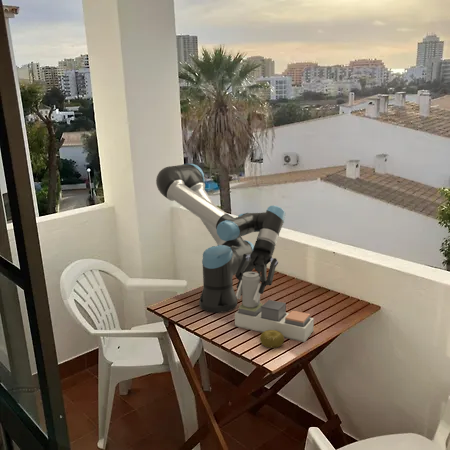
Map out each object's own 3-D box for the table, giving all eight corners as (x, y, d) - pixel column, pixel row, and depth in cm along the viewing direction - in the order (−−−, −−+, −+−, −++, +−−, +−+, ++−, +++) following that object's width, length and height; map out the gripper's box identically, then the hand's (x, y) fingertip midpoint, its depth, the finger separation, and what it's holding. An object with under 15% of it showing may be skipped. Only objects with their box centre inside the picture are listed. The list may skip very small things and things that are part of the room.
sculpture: (271, 341, 149) (254, 332, 155) (271, 352, 150) (254, 343, 156) (289, 333, 154) (272, 325, 160) (289, 344, 155) (271, 336, 161)
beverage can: (262, 303, 170) (262, 272, 167) (256, 309, 164) (255, 277, 161) (246, 300, 173) (245, 270, 170) (239, 307, 167) (239, 275, 164)
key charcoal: (261, 322, 164) (261, 306, 162) (268, 315, 169) (269, 299, 168) (278, 326, 161) (278, 309, 159) (285, 318, 166) (285, 303, 165)
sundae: (262, 282, 210) (262, 250, 207) (249, 280, 214) (249, 248, 210) (269, 278, 216) (269, 247, 212) (256, 275, 219) (256, 245, 215)
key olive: (238, 322, 169) (238, 306, 167) (246, 315, 174) (246, 300, 173) (254, 325, 166) (254, 310, 164) (262, 318, 171) (262, 303, 170)
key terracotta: (285, 333, 160) (285, 317, 159) (292, 326, 166) (292, 310, 164) (303, 337, 157) (303, 321, 156) (309, 329, 162) (309, 314, 161)
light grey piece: (234, 326, 168) (234, 313, 167) (246, 316, 176) (245, 304, 175) (304, 342, 156) (304, 328, 155) (313, 331, 163) (313, 318, 162)
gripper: (292, 251, 173) (274, 308, 163) (246, 245, 182) (226, 298, 172) (287, 241, 167) (268, 299, 157) (239, 235, 176) (218, 290, 166)
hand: (246, 299), depth 165 cm, fingers closed on beverage can, 6 cm apart
